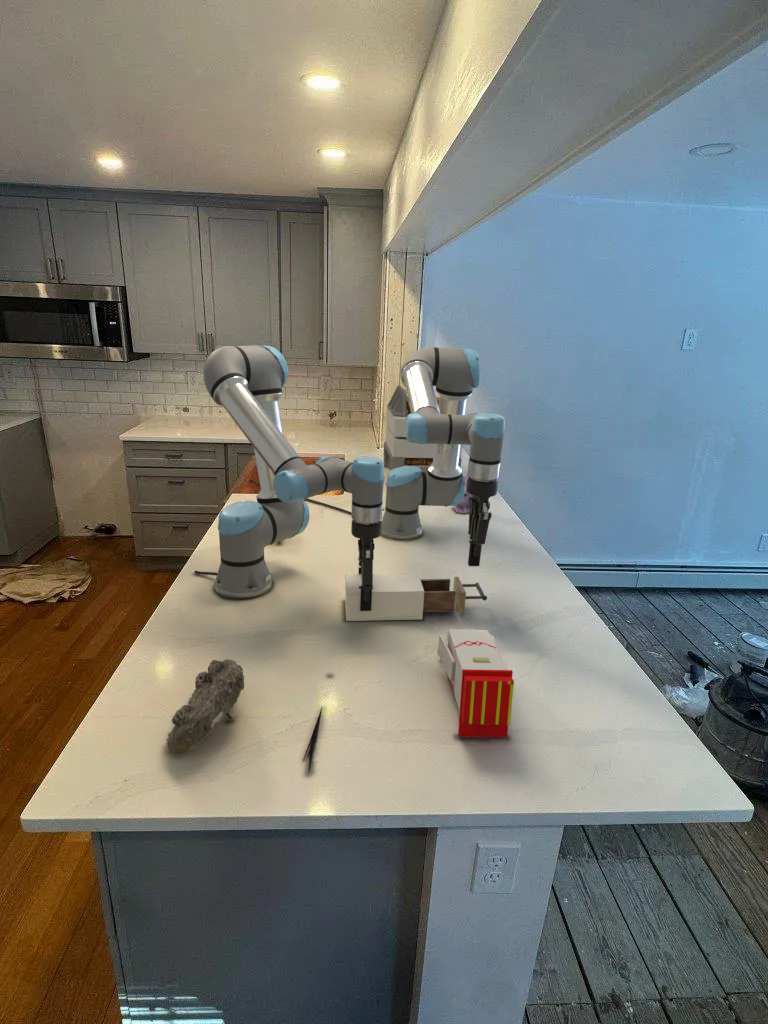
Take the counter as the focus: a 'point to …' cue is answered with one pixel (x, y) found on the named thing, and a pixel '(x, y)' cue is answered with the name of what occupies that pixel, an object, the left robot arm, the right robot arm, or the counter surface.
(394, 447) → the transformer
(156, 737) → the counter surface
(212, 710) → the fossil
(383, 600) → the cabinet
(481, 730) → the toy
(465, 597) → the drawer
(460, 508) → the figurine
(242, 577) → the left robot arm
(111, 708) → the counter surface
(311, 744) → the feather
